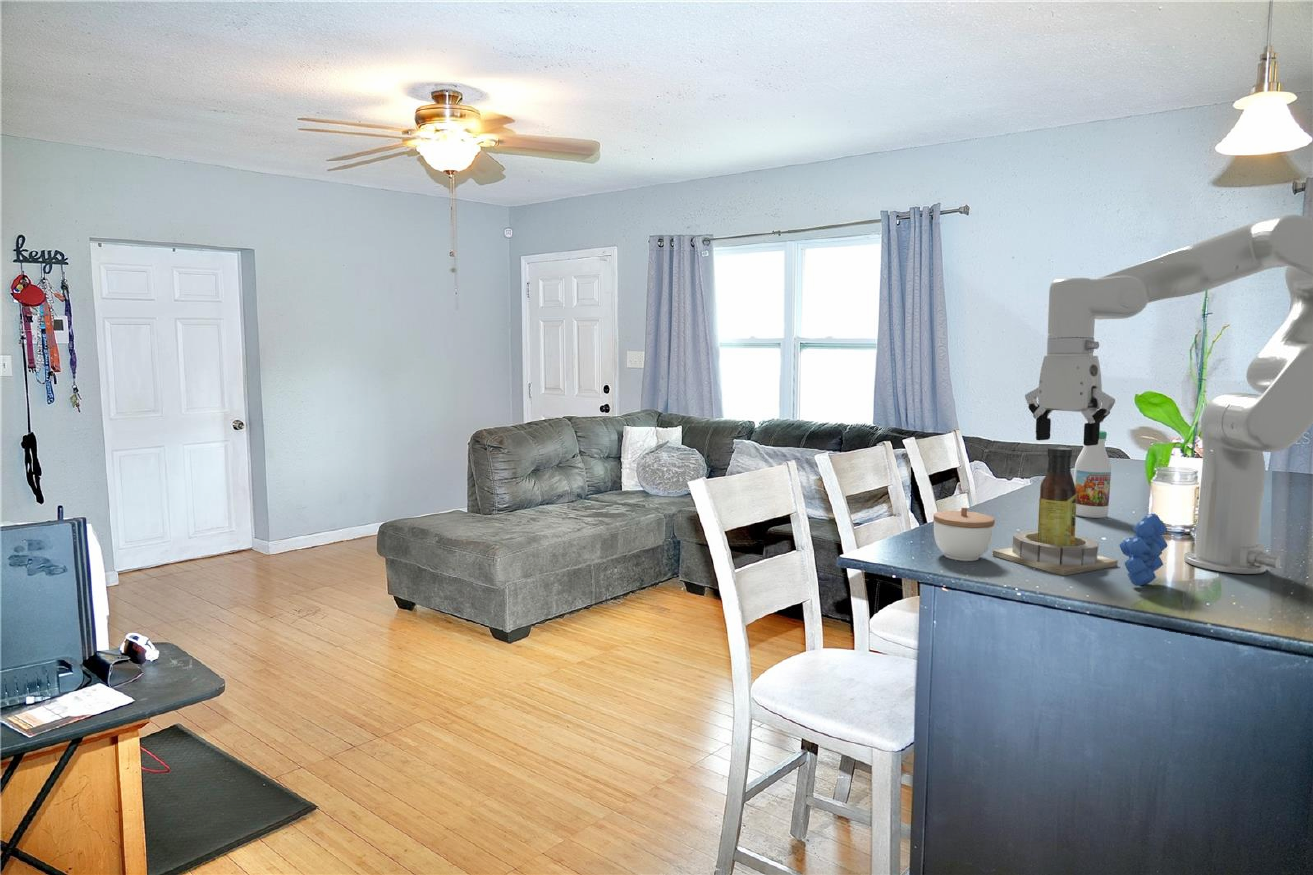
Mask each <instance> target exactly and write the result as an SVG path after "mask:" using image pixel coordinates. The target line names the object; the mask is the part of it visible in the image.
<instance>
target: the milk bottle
mask: <svg viewBox="0 0 1313 875" xmlns="http://www.w3.org/2000/svg"><path fill="white" fill-rule="evenodd" d="M1107 434H1108V433H1107V431H1105V430H1100V433H1099V440H1098V444H1097V445H1092V446H1085V445H1084V444H1083V447H1082V449H1081V451H1080V453H1079V455H1078V456H1077V459H1076V461H1075V465H1074V470H1073V471H1074V472H1073V481H1074V484H1075V488H1076V491H1077V500H1076V517H1077V516H1078V517H1084V518H1092V519H1093V518H1095V519H1104V518H1107V517H1108V513H1109V505H1110V492H1111V491H1110V490H1111V480H1112V479H1111V478H1112V477H1111V476H1112V464H1111V460H1110V458H1109V455H1108V453H1107V450H1106V445H1105V443H1106V442H1107Z"/></svg>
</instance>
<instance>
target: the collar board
mask: <svg viewBox="0 0 1313 875" xmlns="http://www.w3.org/2000/svg"><path fill="white" fill-rule="evenodd" d="M992 557H996V558H1000V559H1004V560H1007V561H1011V562H1013V563H1018V564H1022V565H1025V566H1028V567H1032V568H1036V569H1038V570H1043V571H1045V572H1049V573H1053V574H1057V575H1060V576H1062V577H1063V576H1069V575H1074V574H1081V573H1085V572H1090V571H1096V570H1103V569H1106V568H1107V569H1108V568H1112V567H1113V568H1114V567H1118V566H1119V565H1118V564H1119V563H1118V562H1119V560H1117V559H1113V558H1109V557H1106V556H1102V555H1099V542H1098V541H1095V540H1094V539H1092V538H1089V537H1087V536H1083V535H1077V534H1075V545H1074V546H1057V545H1049V544H1043V543H1039V542H1038V530H1026V531H1024V530H1023V531H1018V532H1015V533H1014V535H1013V537H1012V547H1007V548H1000V549H994V550H992Z"/></svg>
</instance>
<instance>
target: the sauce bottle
mask: <svg viewBox="0 0 1313 875" xmlns="http://www.w3.org/2000/svg"><path fill="white" fill-rule="evenodd" d="M1046 455H1047V457H1048V458H1047V460H1048V464H1047V474H1045V476H1044V478H1043V479H1042V481H1041V483H1040V487H1039V490H1040V492H1039V500H1038V520H1037V521H1038V524H1037V531H1038V542H1039V543H1043V544H1049V545H1057V546H1074V545H1075V535H1076V522H1077V521H1076V520H1077V515H1076V500H1077V491H1076V488H1075V484H1074V481H1073V480H1074V477H1073V475H1072V472H1071V471H1072V470H1071V462H1072V461H1071V458H1072V457H1073V449H1072V448H1068V447H1048V448H1047V454H1046Z"/></svg>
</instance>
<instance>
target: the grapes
mask: <svg viewBox="0 0 1313 875" xmlns="http://www.w3.org/2000/svg"><path fill="white" fill-rule="evenodd" d="M1132 529H1133V531H1134V533H1135V535H1134V536H1133V537H1127V538H1126V539H1124V540H1122V542H1120V544H1119V549H1120V551H1121V553H1123V555H1124V556H1127V557H1128V559H1127V560H1126V561H1124V566H1125V568H1126V570H1127V576H1128V579H1129V581H1130V582H1131V584H1132V585H1134V586H1135V587H1137V586H1138V587H1139V586H1142V585H1148V584H1150V583H1151V582H1153V581H1154V580H1155V579H1156V578H1157V576H1156V574H1155V572H1156V571H1157V570H1159V569H1160V568H1162V566H1164V563H1163V560H1162V558H1161V555H1162V554H1163V551H1164V550H1165V549H1167V547H1168V543H1167V542H1166V539H1165V538H1164V536H1163V535H1164V534H1165V533H1166V532H1167V531H1168V528H1167V526H1166V524H1165V523H1164V521H1163V520H1162V519H1160V517H1159V516H1158V514H1157V513H1149V514H1146V515H1145V516H1144V517H1143V518H1142V519H1140V521H1139V522H1137V523H1136V524H1135V525H1134V526H1133V527H1132Z"/></svg>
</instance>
